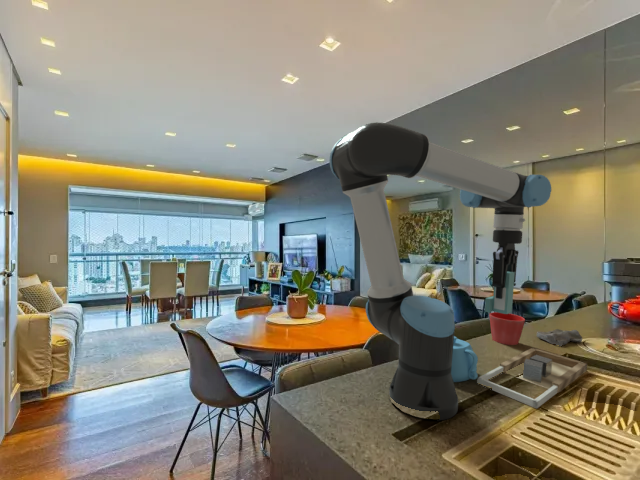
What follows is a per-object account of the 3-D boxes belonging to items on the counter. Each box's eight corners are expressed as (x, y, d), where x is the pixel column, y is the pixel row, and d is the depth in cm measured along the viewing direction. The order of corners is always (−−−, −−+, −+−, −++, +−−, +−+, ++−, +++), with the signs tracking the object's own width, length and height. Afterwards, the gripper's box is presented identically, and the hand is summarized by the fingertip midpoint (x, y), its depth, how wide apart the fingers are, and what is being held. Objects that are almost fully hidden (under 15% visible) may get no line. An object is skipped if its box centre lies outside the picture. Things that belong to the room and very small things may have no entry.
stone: (558, 348, 116) (559, 336, 116) (532, 338, 125) (533, 327, 125) (588, 344, 121) (589, 333, 121) (561, 335, 130) (562, 325, 130)
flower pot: (502, 336, 125) (504, 310, 125) (530, 347, 115) (532, 319, 115) (480, 339, 122) (482, 312, 121) (507, 350, 112) (509, 321, 111)
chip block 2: (545, 377, 91) (546, 363, 90) (529, 371, 94) (530, 357, 93) (551, 373, 93) (552, 359, 93) (534, 368, 96) (536, 354, 96)
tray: (536, 412, 75) (537, 401, 75) (476, 387, 86) (477, 377, 86) (557, 396, 83) (557, 386, 83) (499, 374, 94) (500, 365, 93)
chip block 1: (540, 382, 87) (542, 367, 87) (522, 377, 90) (524, 363, 90) (542, 377, 91) (543, 362, 90) (524, 372, 93) (525, 358, 93)
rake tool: (484, 311, 100) (487, 271, 100) (496, 307, 106) (499, 269, 106) (503, 315, 97) (506, 274, 96) (514, 310, 103) (517, 271, 102)
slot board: (558, 396, 83) (559, 384, 82) (499, 374, 94) (499, 363, 94) (586, 373, 96) (587, 363, 96) (532, 356, 107) (532, 347, 107)
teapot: (436, 323, 104) (493, 341, 88) (434, 357, 104) (490, 381, 89) (407, 329, 97) (463, 350, 82) (405, 365, 98) (460, 393, 82)
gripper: (510, 230, 91) (504, 315, 93) (531, 230, 102) (526, 306, 104) (482, 228, 97) (477, 309, 98) (505, 228, 108) (500, 301, 109)
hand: (502, 307), depth 101 cm, fingers closed on rake tool, 4 cm apart
